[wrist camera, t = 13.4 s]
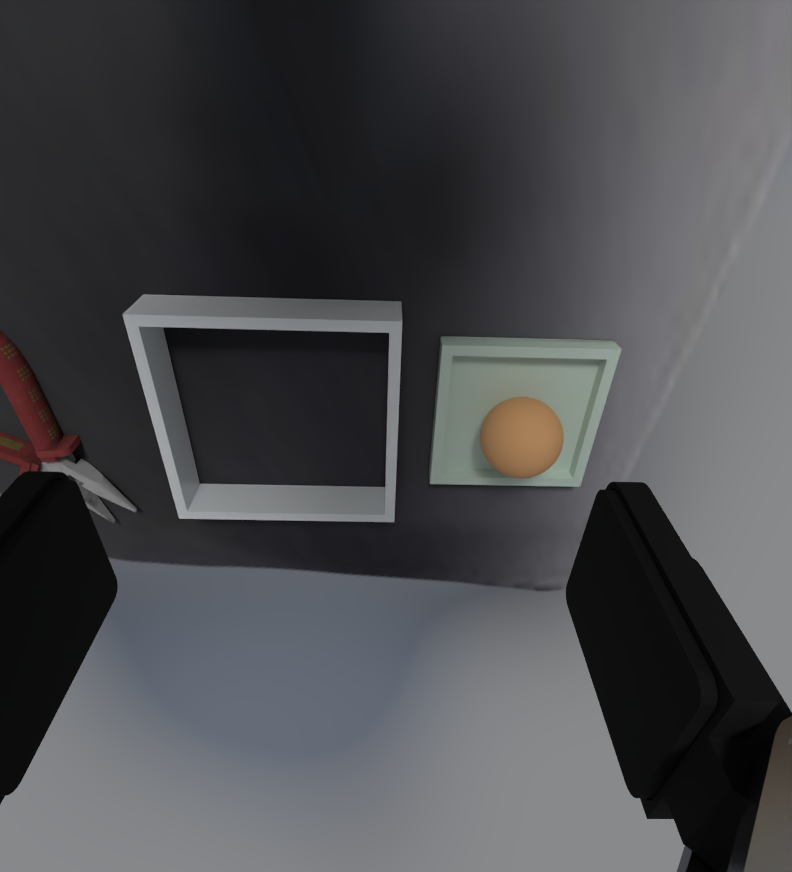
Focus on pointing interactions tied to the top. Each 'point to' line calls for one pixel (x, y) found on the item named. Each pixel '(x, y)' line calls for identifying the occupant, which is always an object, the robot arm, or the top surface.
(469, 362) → the tray
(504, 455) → the ball
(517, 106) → the top surface
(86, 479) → the pliers
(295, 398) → the top surface
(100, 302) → the top surface
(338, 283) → the top surface
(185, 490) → the grey square frame
